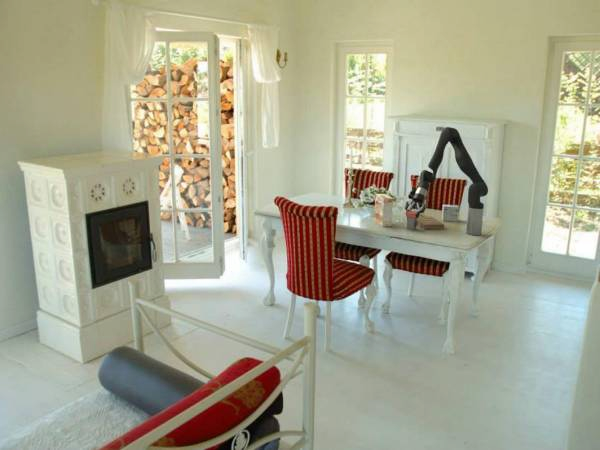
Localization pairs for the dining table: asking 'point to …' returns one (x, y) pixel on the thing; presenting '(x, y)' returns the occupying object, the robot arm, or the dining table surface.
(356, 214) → the dining table surface
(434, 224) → the walnut board
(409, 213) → the red lid
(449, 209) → the light bulb box
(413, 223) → the grey tin
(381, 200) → the coffeecake box
